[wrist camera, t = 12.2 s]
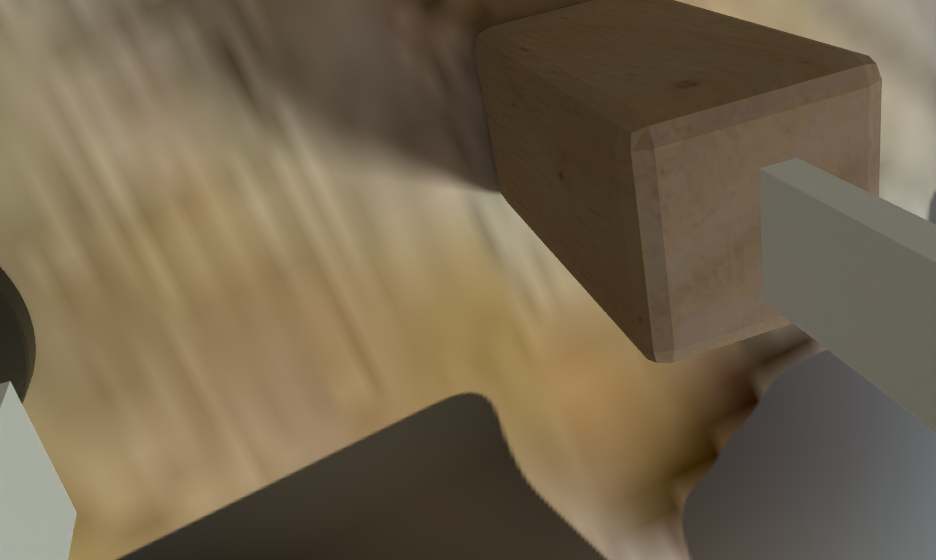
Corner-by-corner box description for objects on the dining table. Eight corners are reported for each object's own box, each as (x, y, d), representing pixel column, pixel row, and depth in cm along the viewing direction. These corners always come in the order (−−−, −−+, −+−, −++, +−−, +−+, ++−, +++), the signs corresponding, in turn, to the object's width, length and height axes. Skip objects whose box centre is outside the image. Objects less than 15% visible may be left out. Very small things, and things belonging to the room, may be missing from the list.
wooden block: (465, 28, 46) (623, 127, 28) (641, -17, 47) (895, 50, 30) (498, 202, 50) (652, 380, 33) (658, 156, 52) (887, 303, 34)
